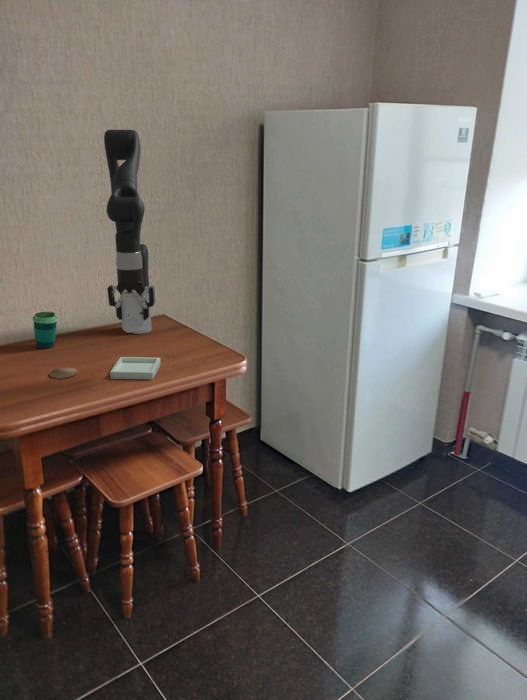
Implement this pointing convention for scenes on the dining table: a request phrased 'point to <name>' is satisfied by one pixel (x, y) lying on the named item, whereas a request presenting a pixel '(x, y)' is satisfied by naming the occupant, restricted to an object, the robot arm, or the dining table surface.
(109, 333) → the dining table surface
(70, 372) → the coaster
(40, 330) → the cup
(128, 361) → the tray
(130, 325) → the skincare box
